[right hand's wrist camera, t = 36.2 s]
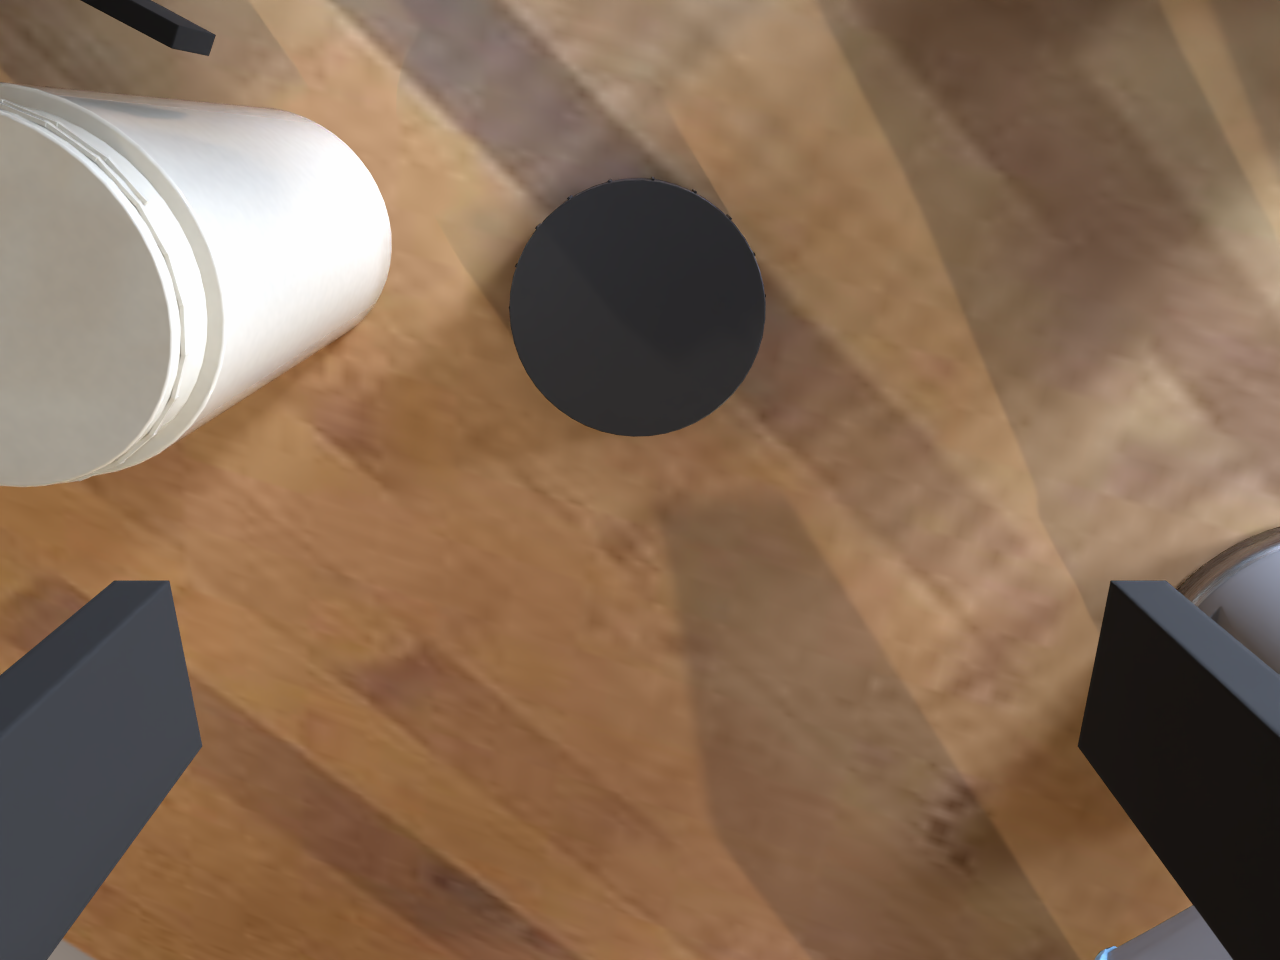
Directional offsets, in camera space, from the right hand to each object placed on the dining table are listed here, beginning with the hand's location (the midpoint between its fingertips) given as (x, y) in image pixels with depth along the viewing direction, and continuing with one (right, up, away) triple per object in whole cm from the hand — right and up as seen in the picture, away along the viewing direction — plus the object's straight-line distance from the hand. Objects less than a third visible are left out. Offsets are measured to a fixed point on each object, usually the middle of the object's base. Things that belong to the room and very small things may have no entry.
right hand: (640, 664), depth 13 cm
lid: (0, +10, +26) cm, 28 cm away
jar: (-16, +13, +27) cm, 34 cm away
